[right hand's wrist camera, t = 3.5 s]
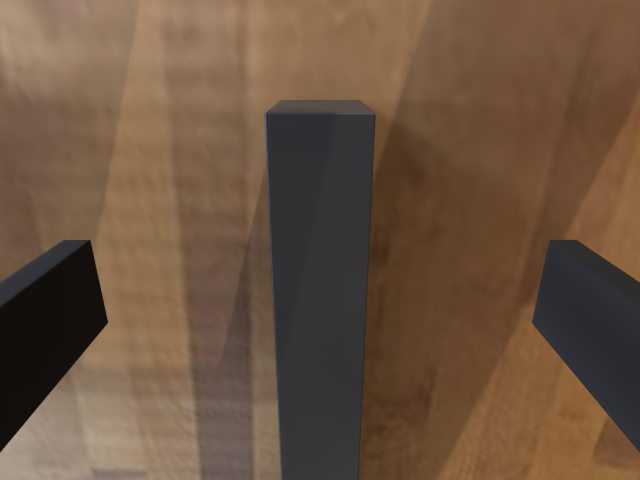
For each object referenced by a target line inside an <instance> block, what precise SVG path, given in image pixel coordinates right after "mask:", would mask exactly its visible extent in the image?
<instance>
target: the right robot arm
mask: <svg viewBox="0 0 640 480" xmlns="http://www.w3.org/2000/svg"><path fill="white" fill-rule="evenodd" d="M107 323H108V320H107V315H106V310H105V306H104V301H103V297H102V292H101V287H100V283H99V278H98V273H97V269H96V264H95V260H94V255H93V250H92V246H91V241H90V240H63V241H61V242H60V243H58V244H57V245H55V246H54V247H52V248H51V249H50V250H48V251H47V252H45V253H44V254H42V255H41V256H39V257H38V258H36V259H35V260H33V261H32V262H30V263H29V264H27V265H26V266H24V267H23V268H21V269H20V270H18V271H17V272H15V273H14V274H12V275H11V276H9V277H8V278H6V279H5V280H3V281H2V282H0V452H1V451H2V450H3V449H4V447H5V446H6V445H7V444H8V443H9V441H10V440H11V439H12V438H13V437H14V435H15V434H16V433H17V432H18V430H19V429H20V428H21V427H22V426H23V424H24V423H25V422H26V421H27V420H28V418H29V417H30V416H31V415H32V414H33V412H34V411H35V410H36V409H37V408H38V406H39V405H40V404H41V403H42V402H43V400H44V399H45V398H46V397H47V396H48V394H49V393H50V392H51V391H52V390H53V388H54V387H55V386H56V385H57V384H58V382H59V381H60V380H61V379H62V378H63V376H64V375H65V374H66V373H67V372H68V370H69V369H70V368H71V367H72V366H73V364H74V363H75V362H76V361H77V360H78V358H79V357H80V356H81V355H82V354H83V352H84V351H85V350H86V349H87V348H88V346H89V345H90V344H91V343H92V341H93V340H94V339H95V338H96V337H97V335H98V334H99V333H100V332H101V331H102V329H103V328H104V327H105V326H106V325H107ZM532 323H533V325H534V326H535V327H536V328H537V329H538V331H539V332H540V333H541V334H542V335H543V337H544V338H545V339H546V340H547V341H548V343H549V344H550V345H551V346H552V348H553V349H554V350H555V351H556V352H557V354H558V355H559V356H560V357H561V358H562V360H563V361H564V362H565V363H566V364H567V366H568V367H569V368H570V369H571V370H572V372H573V373H574V374H575V375H576V376H577V378H578V379H579V380H580V381H581V382H582V384H583V385H584V386H585V387H586V388H587V390H588V391H589V392H590V393H591V394H592V396H593V397H594V398H595V399H596V400H597V402H598V403H599V404H600V405H601V406H602V408H603V409H604V410H605V411H606V412H607V414H608V415H609V416H610V417H611V418H612V420H613V421H614V422H615V423H616V424H617V426H618V427H619V428H620V429H621V430H622V432H623V433H624V434H625V435H626V437H627V438H628V439H629V440H630V441H631V443H632V444H633V445H634V446H635V447H636V449H637V450H638V451H639V452H640V282H638V281H637V280H635V279H634V278H632V277H631V276H629V275H628V274H626V273H625V272H623V271H622V270H620V269H619V268H617V267H616V266H614V265H613V264H611V263H610V262H608V261H607V260H605V259H604V258H602V257H601V256H599V255H598V254H596V253H595V252H593V251H592V250H590V249H589V248H588V247H586V246H585V245H583V244H582V243H580V242H579V241H577V240H550V241H549V246H548V250H547V255H546V260H545V264H544V269H543V273H542V278H541V283H540V287H539V292H538V297H537V301H536V306H535V310H534V315H533V320H532Z"/></svg>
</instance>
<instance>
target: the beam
mask: <svg viewBox="0 0 640 480" xmlns="http://www.w3.org/2000/svg"><path fill="white" fill-rule="evenodd" d="M264 118H265V140H266V161H267V182H268V204H269V225H270V246H271V268H272V289H273V310H274V332H275V353H276V374H277V396H278V417H279V438H280V460H281V480H358V478H359V457H360V435H361V414H362V392H363V371H364V349H365V328H366V307H367V285H368V264H369V242H370V221H371V200H372V178H373V157H374V135H375V113H374V112H373V111H371V110H370V109H369V108H368V107H367V106H365V105H364V104H363V103H362V102H361V101H359V100H281V101H279V102H278V103H277V104H276V105H274V106H273V107H272V108H271V109H270V110H268V111H267V112H266V113H265V115H264Z"/></svg>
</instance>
